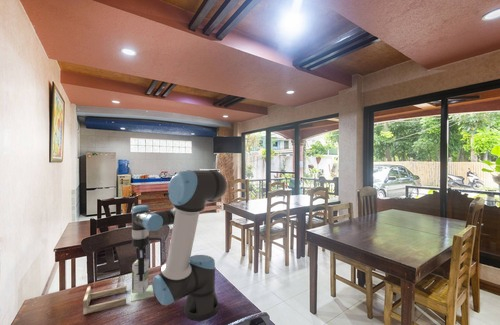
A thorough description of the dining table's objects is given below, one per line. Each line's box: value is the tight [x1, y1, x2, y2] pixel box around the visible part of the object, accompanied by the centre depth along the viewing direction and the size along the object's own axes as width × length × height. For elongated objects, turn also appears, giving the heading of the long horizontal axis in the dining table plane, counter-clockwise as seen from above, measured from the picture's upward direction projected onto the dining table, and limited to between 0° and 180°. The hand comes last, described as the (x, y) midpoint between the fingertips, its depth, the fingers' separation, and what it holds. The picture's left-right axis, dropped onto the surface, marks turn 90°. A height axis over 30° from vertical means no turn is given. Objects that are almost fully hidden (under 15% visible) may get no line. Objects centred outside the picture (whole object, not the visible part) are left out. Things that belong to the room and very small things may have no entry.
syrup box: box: [131, 258, 150, 293], centre depth 115 cm, size 6×6×14 cm
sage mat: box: [130, 284, 155, 303], centre depth 116 cm, size 11×10×1 cm
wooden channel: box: [82, 285, 127, 315], centre depth 109 cm, size 12×16×6 cm
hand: (140, 282), depth 115 cm, fingers closed on syrup box, 7 cm apart
